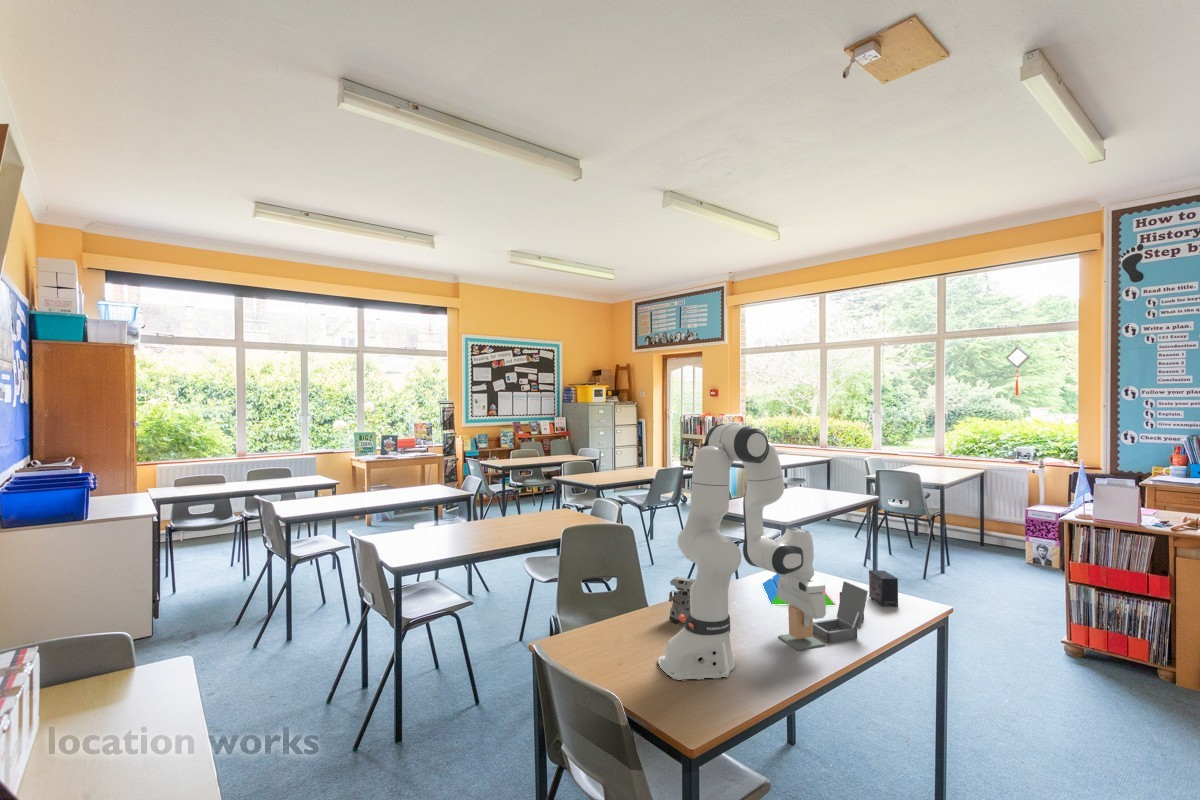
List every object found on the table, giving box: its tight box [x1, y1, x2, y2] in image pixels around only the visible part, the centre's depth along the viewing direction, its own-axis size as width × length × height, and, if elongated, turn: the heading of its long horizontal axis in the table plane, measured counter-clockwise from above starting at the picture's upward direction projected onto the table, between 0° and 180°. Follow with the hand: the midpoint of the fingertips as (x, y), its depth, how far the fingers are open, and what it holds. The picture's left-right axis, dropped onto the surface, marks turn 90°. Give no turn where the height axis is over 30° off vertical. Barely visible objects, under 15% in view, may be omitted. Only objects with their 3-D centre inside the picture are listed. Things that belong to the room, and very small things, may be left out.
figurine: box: [668, 576, 695, 624], centre depth 194 cm, size 9×12×15 cm
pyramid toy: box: [762, 573, 836, 605], centre depth 218 cm, size 25×25×14 cm
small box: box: [868, 569, 899, 607], centre depth 209 cm, size 11×6×10 cm, turn 179°
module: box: [787, 605, 814, 639], centre depth 176 cm, size 6×4×9 cm, turn 106°
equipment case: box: [813, 580, 869, 643], centre depth 181 cm, size 15×10×15 cm, turn 106°
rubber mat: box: [777, 633, 826, 651], centre depth 176 cm, size 10×10×1 cm
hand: (800, 622), depth 176 cm, fingers closed on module, 4 cm apart
